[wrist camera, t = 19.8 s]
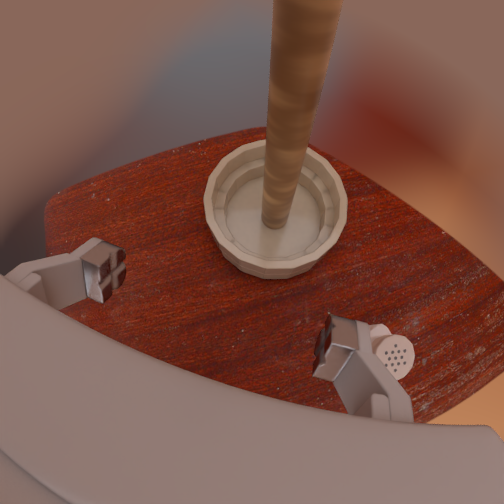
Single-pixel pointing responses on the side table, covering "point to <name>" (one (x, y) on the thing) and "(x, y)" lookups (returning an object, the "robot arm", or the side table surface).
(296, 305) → the side table surface
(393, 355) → the salt shaker
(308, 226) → the bowl
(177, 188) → the side table surface
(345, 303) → the side table surface
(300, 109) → the stirring stick
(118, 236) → the side table surface
